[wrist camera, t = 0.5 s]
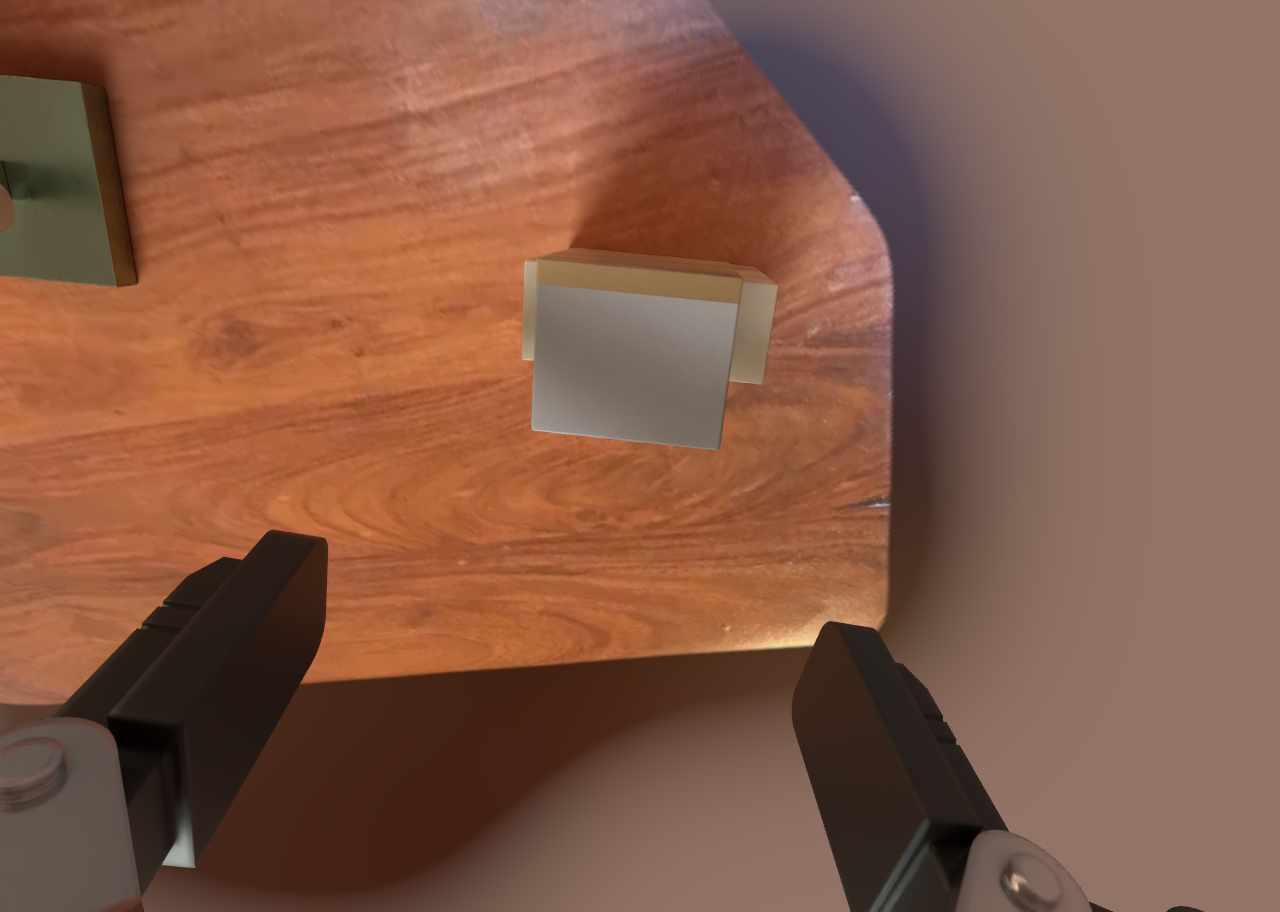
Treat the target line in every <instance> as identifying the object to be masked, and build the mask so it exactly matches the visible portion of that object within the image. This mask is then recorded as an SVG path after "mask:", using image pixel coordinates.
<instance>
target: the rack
mask: <svg viewBox="0 0 1280 912" xmlns="http://www.w3.org/2000/svg"><path fill="white" fill-rule="evenodd" d="M0 275H1V276H11V277H21V278H30V279H40V280H50V281H60V282H70V283H80V284H89V285H99V286H109V287H123V286H131V285H137V278H136V273H135V267H134V261H133V255H132V249H131V243H130V237H129V231H128V225H127V219H126V213H125V207H124V201H123V195H122V190H121V184H120V178H119V172H118V166H117V160H116V154H115V148H114V142H113V136H112V130H111V124H110V118H109V112H108V106H107V101H106V95H105V89H104V87H101V86H97V85H92V84H87V83H83V82H76V81H65V80H54V79H43V78H32V77H21V76H10V75H0Z"/></svg>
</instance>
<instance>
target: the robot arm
mask: <svg viewBox="0 0 1280 912" xmlns="http://www.w3.org/2000/svg"><path fill="white" fill-rule="evenodd" d="M327 566H328V544H327V541H326V539H325V538H322V537H316V536H310V535H304V534H298V533H291V532H285V531H279V530H270V531H268V532H267V533H266V534H265V535H264V536H263V537H262V538H261V540H260V541H259V542H258V543H257V544H256V545H255V546H254V548H253V549H252V550H251V551H250V552H249V553H248V555H247V556H246V557H245V558H244V559H243V560H240V559H234V558H227V557H223V558H221V559H219V560H217V561H215V562H213V563H211V564H209V565H208V566H206V567H204V568H202V569H200V570H198V571H196V572H194V573H192V574H191V575H189V576H187V577H186V578H185V579H184V580H183V581H182V582H181V583H180V585H179V586H178V587H177V588H176V589H175V590H174V591H173V592H172V593H171V594H170V595H169V596H168V597H167V598H166V599H165V600H164V601H163V605H162V607H157V608H156V609H155V610H154V611H153V612H152V614H151V615H150V616H149V617H148V618H147V619H146V620H145V621H144V622H143V623H142V627H141V629H136V630H135V631H134V632H133V633H132V634H131V635H130V636H129V637H128V638H127V639H126V640H125V641H124V643H123V644H122V645H121V646H120V647H119V648H118V649H117V650H116V651H115V652H114V653H113V654H112V655H111V656H110V657H109V658H108V659H107V660H106V661H105V662H104V663H103V664H102V665H101V666H100V667H99V668H98V669H97V670H96V672H95V673H94V674H93V675H92V676H91V677H90V678H89V679H88V680H87V681H86V682H85V683H84V684H83V685H82V686H81V687H80V688H79V689H78V690H77V691H76V692H75V693H74V694H73V695H72V696H71V697H70V698H69V699H68V701H67V702H66V703H65V704H64V705H63V706H62V707H61V708H60V709H59V710H58V711H57V712H56V713H55V714H54V715H53V716H52V717H51V718H48V719H40V720H36V721H31V722H27V723H23V724H20V725H17V726H14V727H11V728H8V729H6V730H4V731H1V732H0V912H144V909H143V906H142V900H141V897H142V896H143V894H144V893H145V891H146V889H147V888H148V886H149V884H150V883H151V881H152V880H153V878H154V876H155V875H156V873H157V872H158V870H159V868H160V867H161V865H172V866H181V867H192V868H195V867H196V865H197V863H198V862H199V860H200V858H201V856H202V855H203V853H204V851H205V849H206V848H207V846H208V844H209V842H210V841H211V839H212V837H213V835H214V834H215V832H216V830H217V828H218V827H219V825H220V823H221V821H222V819H223V818H224V816H225V814H226V813H227V811H228V809H229V807H230V806H231V804H232V802H233V800H234V799H235V797H236V795H237V793H238V791H239V789H240V788H241V786H242V784H243V783H244V781H245V779H246V777H247V776H248V774H249V772H250V770H251V769H252V767H253V765H254V763H255V762H256V760H257V758H258V756H259V754H260V753H261V751H262V749H263V747H264V746H265V744H266V742H267V740H268V739H269V737H270V735H271V734H272V732H273V730H274V728H275V727H276V725H277V723H278V721H279V720H280V718H281V716H282V714H283V712H284V711H285V709H286V707H287V705H288V704H289V702H290V700H291V698H292V697H293V695H294V693H295V691H296V690H297V688H298V686H299V684H300V683H301V681H302V679H303V677H304V676H305V674H306V672H307V670H308V669H309V667H310V665H311V663H312V662H313V660H314V658H315V656H316V653H317V651H318V648H319V645H320V643H321V639H322V636H323V631H324V627H325V620H326V595H327ZM792 721H793V726H794V730H795V733H796V737H797V740H798V743H799V746H800V750H801V753H802V756H803V759H804V763H805V766H806V769H807V772H808V775H809V779H810V782H811V785H812V788H813V791H814V795H815V798H816V801H817V804H818V808H819V811H820V814H821V817H822V821H823V824H824V827H825V830H826V833H827V837H828V840H829V843H830V846H831V850H832V853H833V856H834V859H835V863H836V866H837V869H838V872H839V875H840V878H841V882H842V885H843V888H844V892H845V895H846V898H847V901H848V904H849V907H850V911H851V912H1112V911H1110V910H1107V909H1105V908H1103V907H1101V906H1098V905H1096V904H1094V903H1091V902H1089V901H1088V900H1087V897H1086V896H1085V894H1084V892H1083V891H1082V889H1081V887H1080V886H1079V885H1078V883H1077V882H1076V881H1075V879H1074V878H1073V877H1072V876H1071V875H1070V873H1069V872H1068V871H1067V870H1066V869H1065V868H1064V867H1063V866H1062V865H1061V864H1060V863H1059V862H1058V861H1057V860H1056V859H1055V858H1054V857H1052V856H1051V855H1050V854H1049V853H1047V852H1046V851H1045V850H1044V849H1042V848H1041V847H1039V846H1038V845H1036V844H1034V843H1033V842H1031V841H1029V840H1028V839H1026V838H1024V837H1021V836H1019V835H1017V834H1014V833H1011V832H1009V830H1008V829H1007V827H1006V825H1005V823H1004V822H1003V820H1002V818H1001V816H1000V815H999V813H998V811H997V810H996V808H995V806H994V804H993V803H992V801H991V799H990V797H989V796H988V794H987V792H986V790H985V789H984V787H983V785H982V783H981V782H980V780H979V778H978V777H977V775H976V773H975V771H974V769H973V768H972V766H971V764H970V762H969V761H968V759H967V757H966V755H965V754H964V752H963V750H962V749H961V747H960V745H956V738H955V736H954V735H953V733H952V731H951V729H950V728H949V726H948V724H947V722H943V715H942V714H941V712H940V710H939V709H938V707H937V705H936V703H935V701H934V700H933V698H932V696H931V695H930V693H929V691H928V689H927V688H925V686H924V685H923V684H922V683H921V682H920V681H919V680H918V679H917V678H916V677H915V676H914V675H913V674H912V673H911V672H910V671H909V670H908V669H907V668H906V667H905V666H904V665H903V664H900V663H895V662H894V660H893V658H892V657H891V655H890V653H889V651H888V649H887V648H886V645H885V643H884V642H883V640H882V638H881V636H880V635H879V633H878V632H877V631H876V630H875V629H874V628H870V627H864V626H858V625H851V624H845V623H839V622H833V621H829V622H827V623H825V624H824V626H823V627H822V628H821V630H820V632H819V635H818V637H817V639H816V642H815V644H814V646H813V649H812V651H811V653H810V656H809V658H808V660H807V663H806V665H805V667H804V669H803V672H802V674H801V676H800V679H799V681H798V683H797V686H796V688H795V691H794V695H793V702H792ZM1167 912H1203V911H1200V910H1198V909H1195V908H1191V907H1184V906H1178V907H1173V908H1171V909H1169V910H1168V911H1167Z"/></svg>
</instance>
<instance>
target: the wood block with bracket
mask: <svg viewBox="0 0 1280 912" xmlns="http://www.w3.org/2000/svg"><path fill="white" fill-rule="evenodd" d="M778 287H779V286H778V284H776V283H775V282H774V281H773V280H771V279H770V278H769V277H767V276H766V275H765V274H763V273H762V272H761V271H760V270H758V269H757V268H756V267H754V266H744V265H734V264H730V263H729V262H721V261H711V260H701V259H690V258H680V257H670V256H659V255H649V254H639V253H629V252H618V251H608V250H598V249H587V248H573V249H570V248H569V249H565V250H561V251H558V252H554V253H550V254H546V255H542V256H539V257H535V258H531V259H527V260H525V265H524V301H523V337H522V359H523V360H531V361H534V365H533V394H532V423H531V428H532V430H534V431H542V432H551V433H560V434H570V435H579V436H588V437H598V438H607V439H616V440H625V441H635V442H644V443H653V444H663V445H672V446H681V447H691V448H700V449H709V450H719V448H720V443H721V436H722V428H723V421H724V414H725V407H726V400H727V392H728V385H729V381H734V382H743V383H753V384H763V382H764V376H765V370H766V363H767V357H768V351H769V344H770V338H771V331H772V325H773V319H774V312H775V306H776V300H777V293H778Z"/></svg>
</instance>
